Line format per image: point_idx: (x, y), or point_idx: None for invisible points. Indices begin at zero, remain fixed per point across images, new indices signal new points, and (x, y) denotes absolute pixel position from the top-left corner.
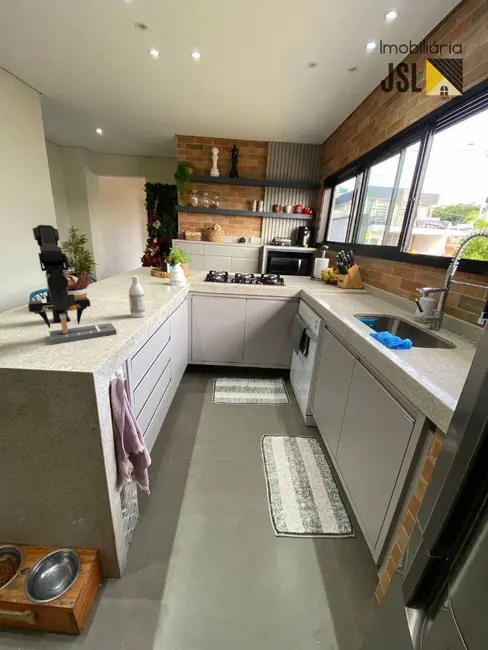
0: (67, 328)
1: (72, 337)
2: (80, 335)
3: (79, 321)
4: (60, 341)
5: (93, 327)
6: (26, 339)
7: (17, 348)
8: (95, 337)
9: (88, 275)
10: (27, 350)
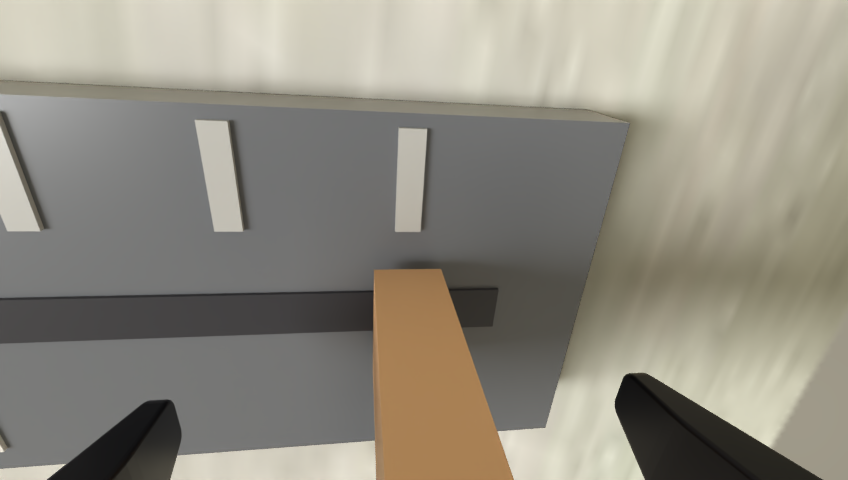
0: (379, 312)
1: (333, 105)
2: (195, 99)
3: (90, 445)
4: (496, 107)
5: (9, 388)
6: (692, 374)
7: (844, 181)
8: None
9: None
10: (827, 56)
